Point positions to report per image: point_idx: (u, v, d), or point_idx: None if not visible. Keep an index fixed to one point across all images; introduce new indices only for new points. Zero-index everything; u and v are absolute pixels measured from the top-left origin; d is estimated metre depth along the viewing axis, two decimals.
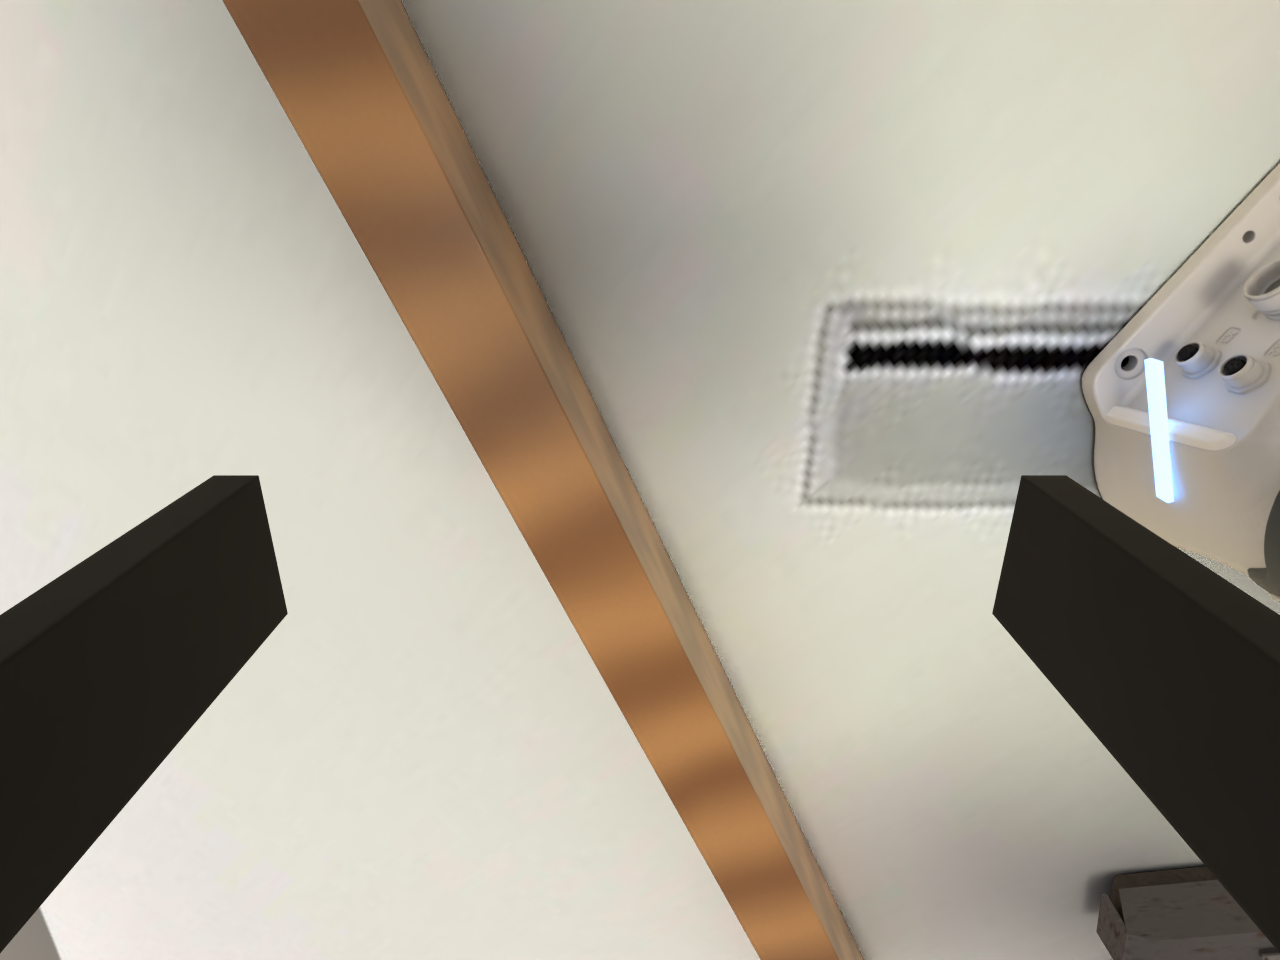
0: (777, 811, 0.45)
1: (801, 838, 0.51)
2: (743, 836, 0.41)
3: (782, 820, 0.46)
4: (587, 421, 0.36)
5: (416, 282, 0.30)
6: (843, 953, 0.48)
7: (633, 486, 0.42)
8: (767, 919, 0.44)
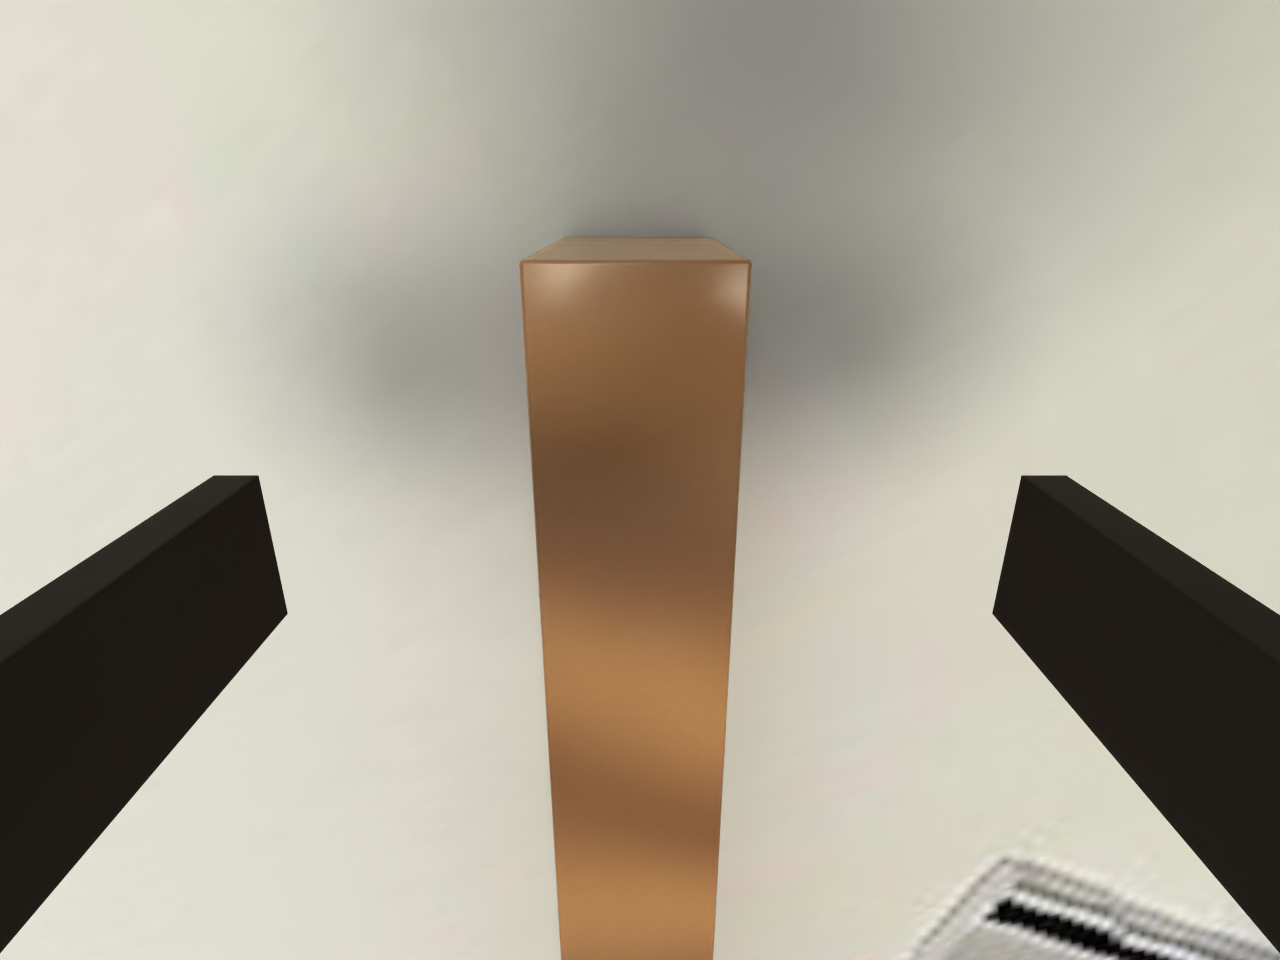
0: None
1: None
2: None
3: None
4: None
5: (603, 857, 0.20)
6: None
7: None
8: None
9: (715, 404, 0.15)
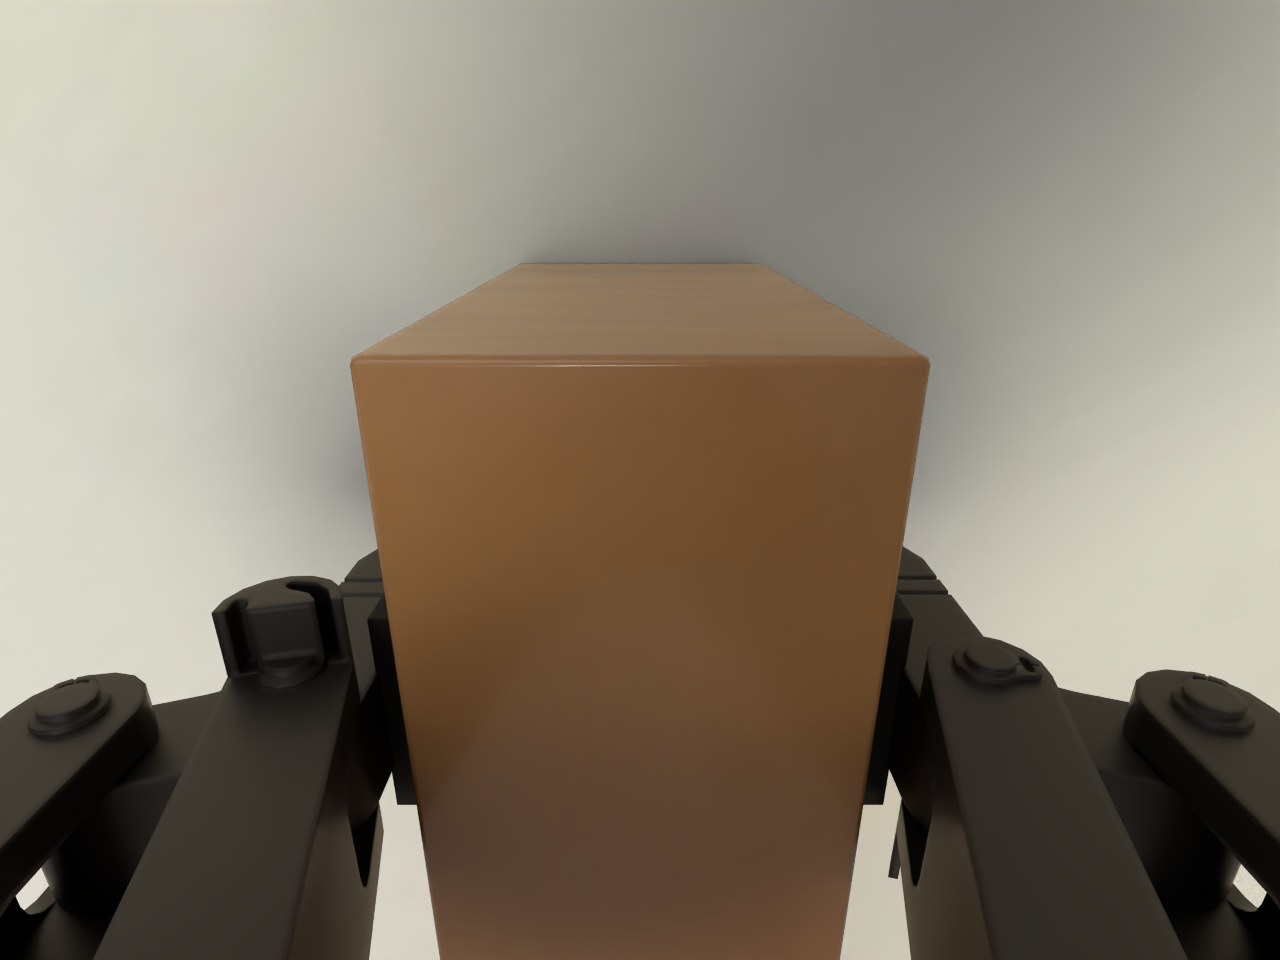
0: None
1: None
2: None
3: None
4: None
5: None
6: None
7: None
8: None
9: (823, 669, 0.07)
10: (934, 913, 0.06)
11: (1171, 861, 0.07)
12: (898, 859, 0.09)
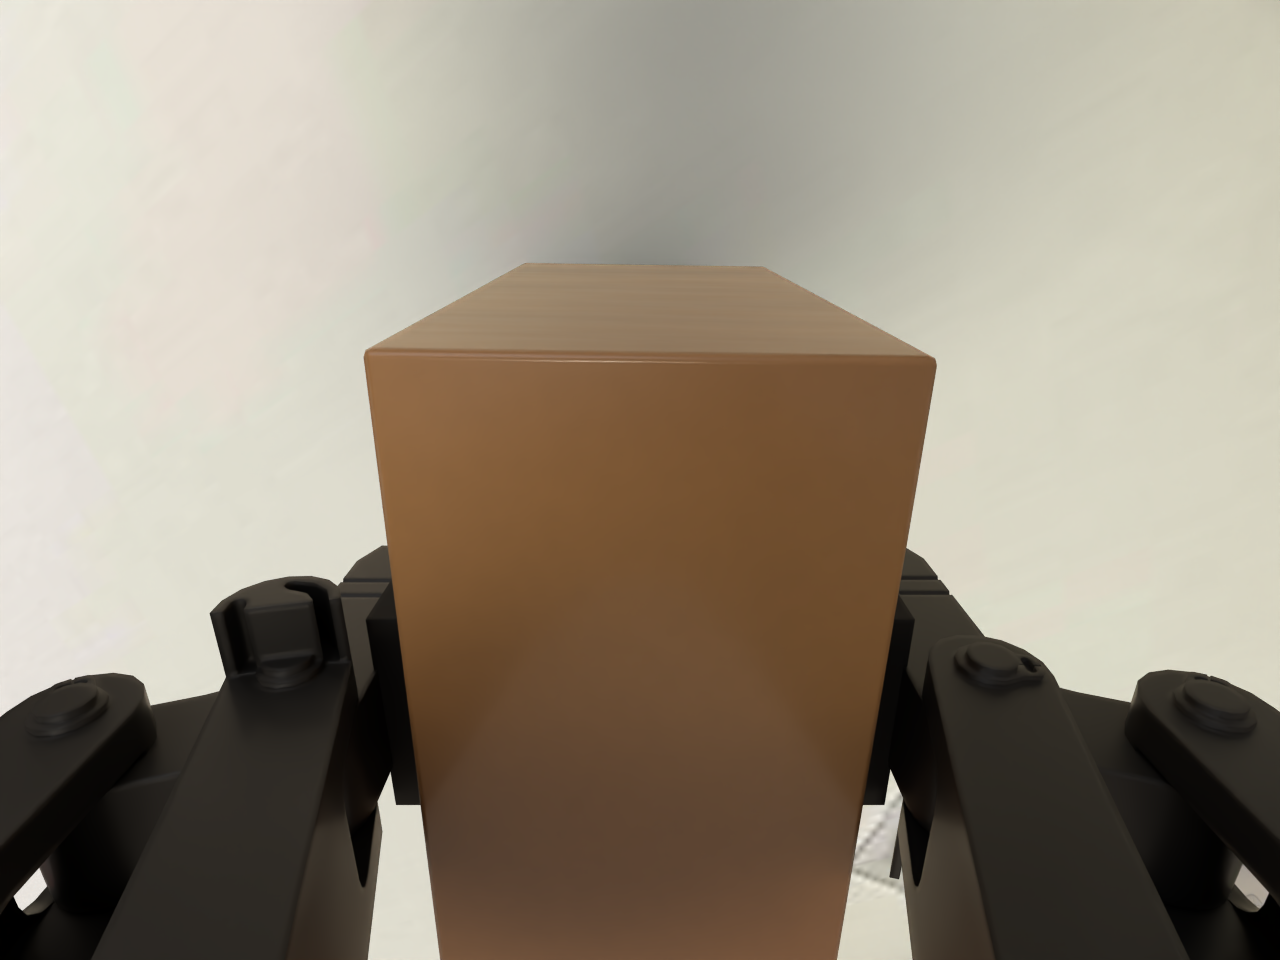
0: None
1: None
2: None
3: None
4: None
5: None
6: None
7: None
8: None
9: (825, 666, 0.07)
10: (936, 913, 0.06)
11: (1173, 861, 0.07)
12: (899, 859, 0.08)
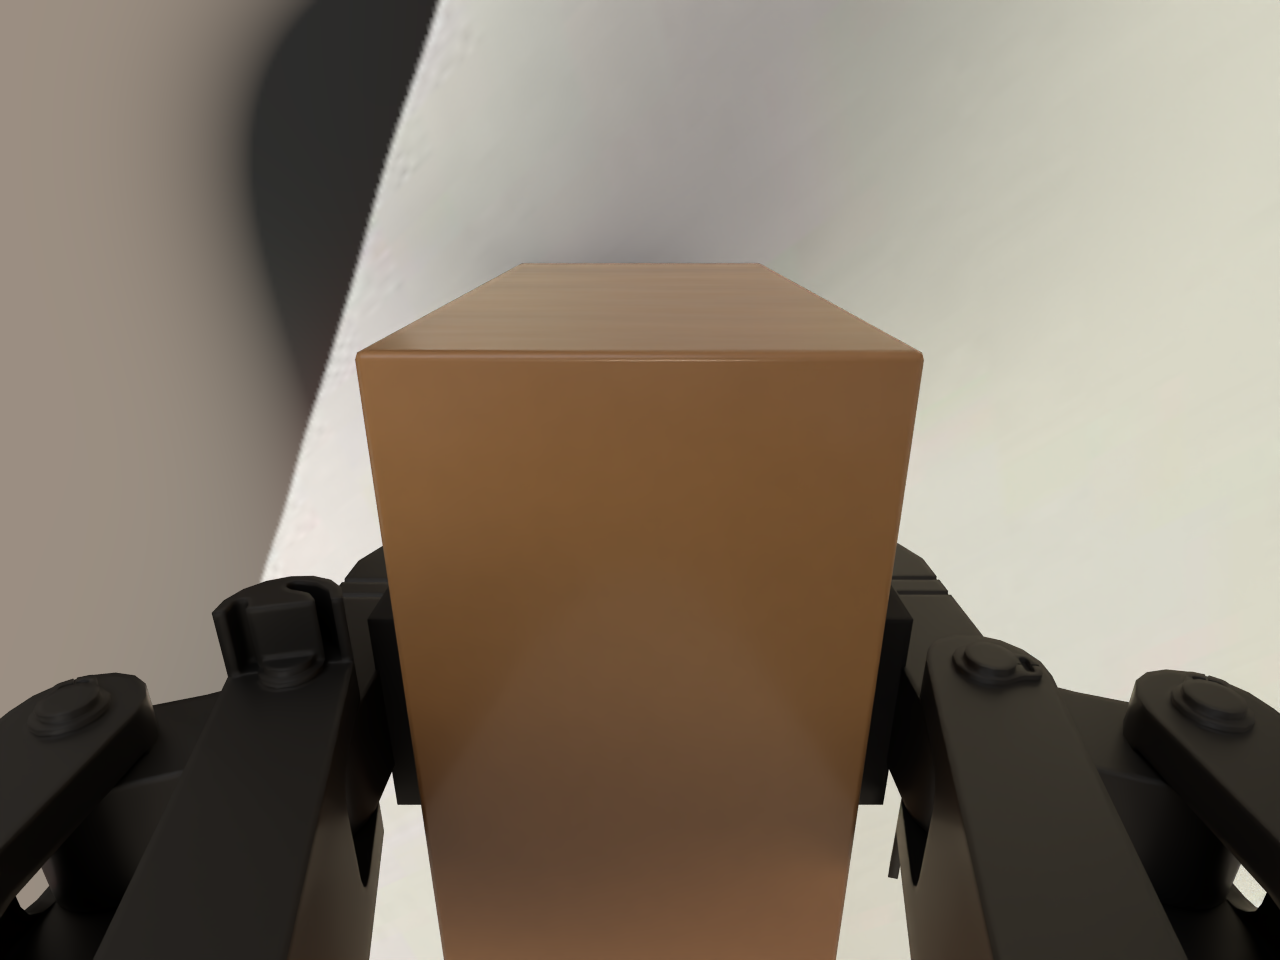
0: None
1: None
2: None
3: None
4: None
5: None
6: None
7: None
8: None
9: (819, 660, 0.07)
10: (934, 914, 0.06)
11: (1171, 861, 0.07)
12: (898, 859, 0.09)
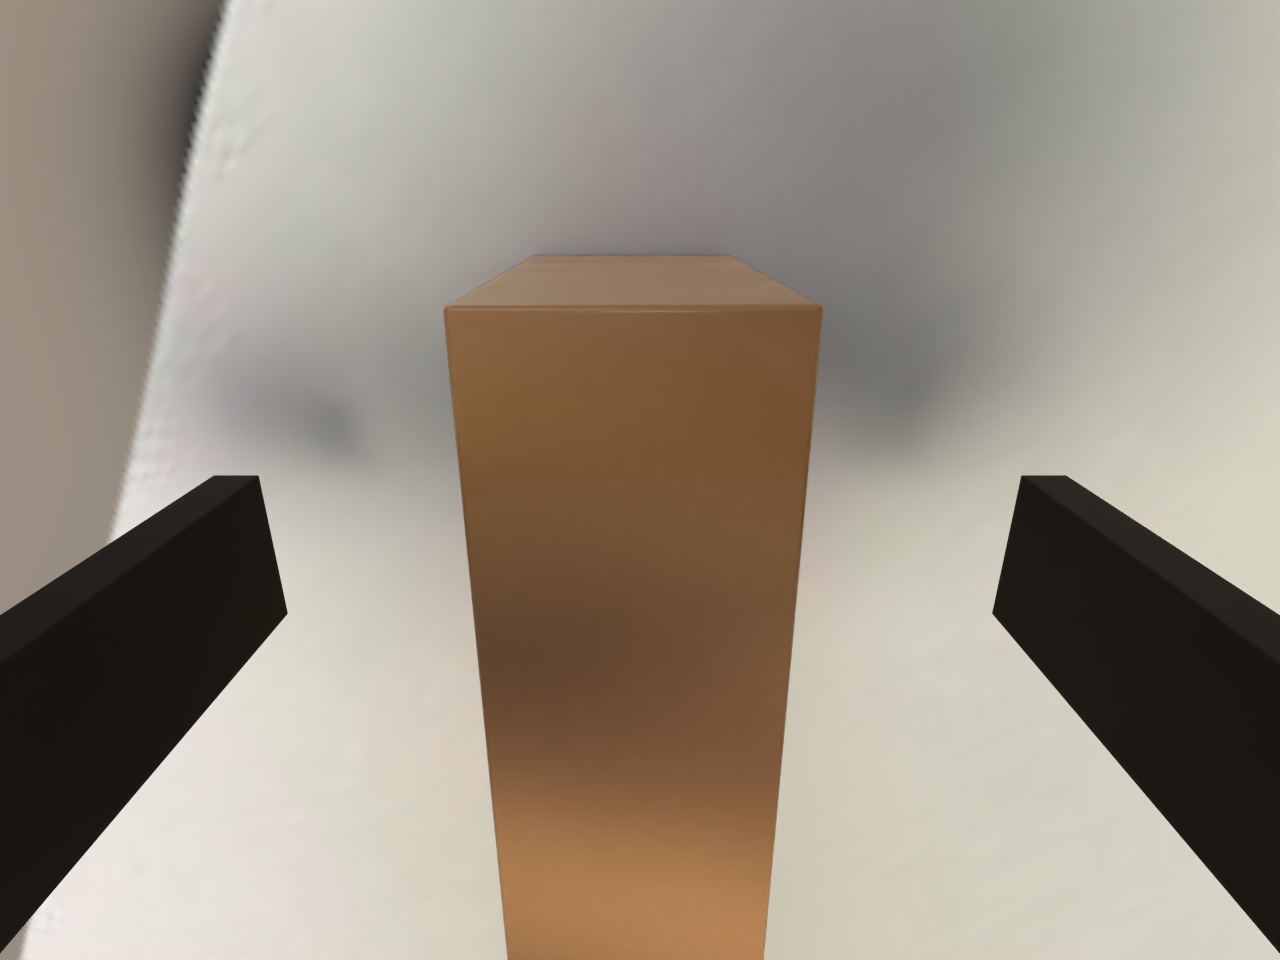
0: None
1: None
2: None
3: None
4: None
5: None
6: None
7: None
8: None
9: (760, 526, 0.10)
10: None
11: None
12: None
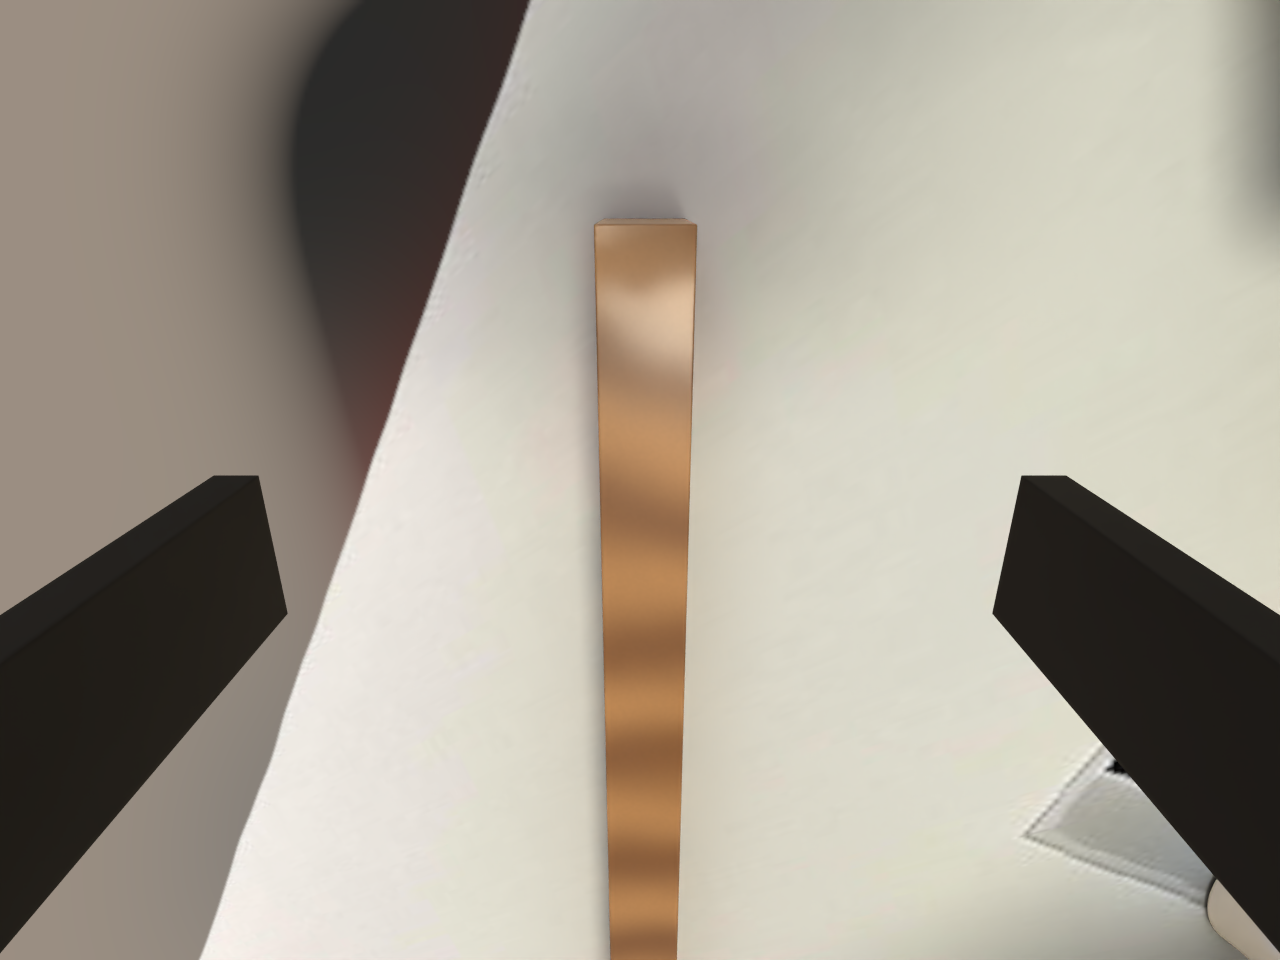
0: None
1: None
2: None
3: None
4: None
5: (627, 546, 0.37)
6: None
7: None
8: None
9: (682, 291, 0.33)
10: None
11: None
12: None
